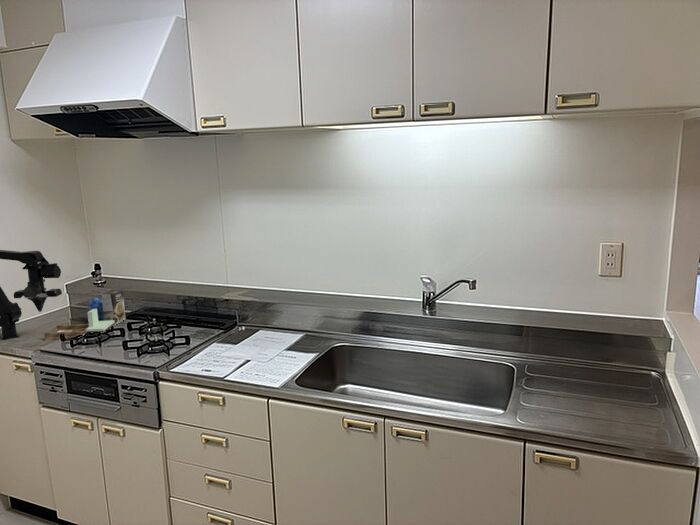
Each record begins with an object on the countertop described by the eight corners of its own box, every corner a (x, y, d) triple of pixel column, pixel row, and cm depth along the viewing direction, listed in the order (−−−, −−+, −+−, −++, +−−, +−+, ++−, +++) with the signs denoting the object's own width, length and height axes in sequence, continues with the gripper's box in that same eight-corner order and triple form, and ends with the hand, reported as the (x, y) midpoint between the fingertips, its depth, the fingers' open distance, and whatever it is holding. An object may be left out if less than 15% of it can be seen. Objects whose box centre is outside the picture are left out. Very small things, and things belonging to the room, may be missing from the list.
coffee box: (115, 325, 254) (112, 294, 252) (103, 325, 255) (100, 293, 253) (126, 320, 263) (123, 290, 260) (115, 320, 264) (112, 289, 261)
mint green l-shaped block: (85, 331, 235) (83, 314, 233) (97, 322, 248) (96, 306, 247) (103, 330, 235) (101, 313, 234) (114, 322, 249) (113, 306, 248)
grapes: (84, 322, 262) (82, 299, 260) (93, 318, 269) (90, 296, 267) (104, 322, 260) (102, 299, 258) (113, 319, 267) (110, 296, 265)
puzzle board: (43, 340, 233) (43, 334, 232) (60, 330, 248) (59, 324, 248) (102, 337, 235) (102, 332, 234) (115, 327, 251) (114, 322, 250)
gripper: (4, 282, 226) (9, 317, 228) (48, 281, 227) (52, 315, 230) (18, 277, 237) (22, 310, 239) (60, 276, 238) (64, 308, 241)
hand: (40, 311), depth 237 cm, fingers closed
